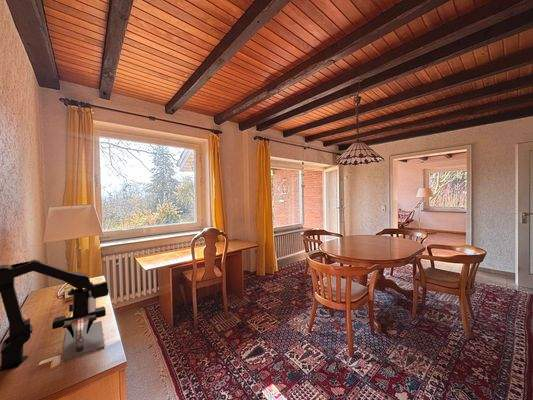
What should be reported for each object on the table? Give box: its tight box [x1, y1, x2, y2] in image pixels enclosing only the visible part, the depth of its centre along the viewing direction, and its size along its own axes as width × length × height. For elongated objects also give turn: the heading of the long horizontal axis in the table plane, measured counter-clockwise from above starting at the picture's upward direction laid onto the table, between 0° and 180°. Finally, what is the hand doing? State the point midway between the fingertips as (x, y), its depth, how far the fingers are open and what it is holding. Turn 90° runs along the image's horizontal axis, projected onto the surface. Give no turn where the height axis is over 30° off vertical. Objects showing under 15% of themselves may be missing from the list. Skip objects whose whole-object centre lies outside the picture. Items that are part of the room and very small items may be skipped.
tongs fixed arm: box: [76, 319, 84, 352], centre depth 105 cm, size 23×3×4 cm, turn 39°
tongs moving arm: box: [80, 318, 84, 338], centre depth 106 cm, size 20×1×4 cm, turn 39°
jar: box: [88, 291, 97, 313], centre depth 130 cm, size 9×8×12 cm
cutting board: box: [61, 320, 106, 363], centre depth 105 cm, size 26×14×1 cm, turn 39°
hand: (80, 335), depth 104 cm, fingers open, 5 cm apart
